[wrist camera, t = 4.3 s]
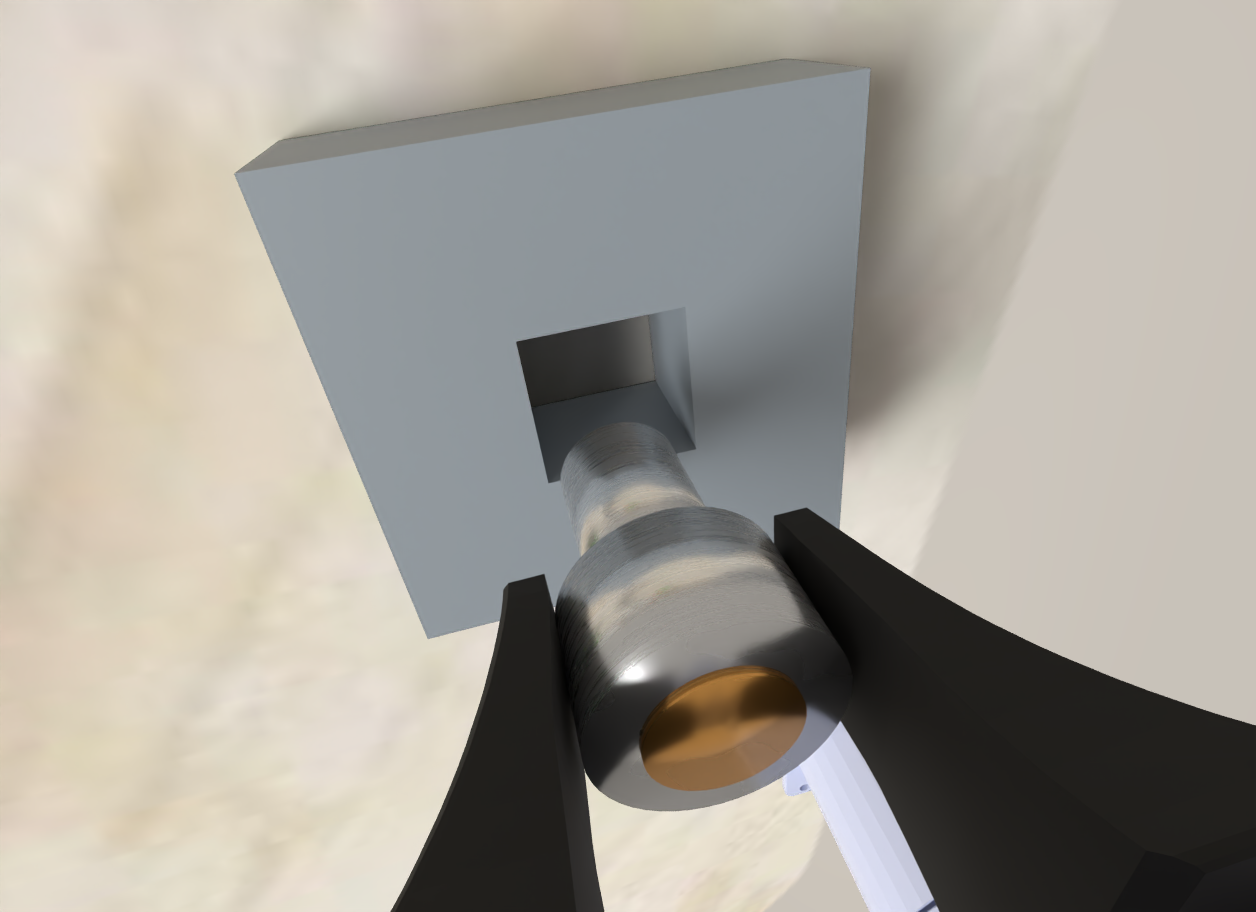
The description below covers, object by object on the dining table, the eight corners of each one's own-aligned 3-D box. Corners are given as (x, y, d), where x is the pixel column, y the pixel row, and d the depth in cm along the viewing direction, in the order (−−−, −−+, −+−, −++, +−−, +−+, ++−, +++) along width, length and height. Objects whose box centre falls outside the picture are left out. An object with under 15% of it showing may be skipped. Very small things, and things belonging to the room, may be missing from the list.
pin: (704, 375, 14) (874, 601, 9) (708, 524, 16) (846, 780, 11) (512, 412, 14) (564, 680, 8) (543, 562, 16) (601, 851, 10)
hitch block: (785, 59, 17) (870, 67, 13) (782, 461, 23) (839, 534, 20) (278, 140, 15) (234, 173, 12) (429, 546, 22) (427, 638, 19)
